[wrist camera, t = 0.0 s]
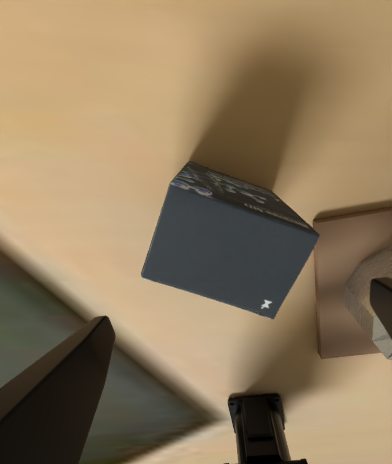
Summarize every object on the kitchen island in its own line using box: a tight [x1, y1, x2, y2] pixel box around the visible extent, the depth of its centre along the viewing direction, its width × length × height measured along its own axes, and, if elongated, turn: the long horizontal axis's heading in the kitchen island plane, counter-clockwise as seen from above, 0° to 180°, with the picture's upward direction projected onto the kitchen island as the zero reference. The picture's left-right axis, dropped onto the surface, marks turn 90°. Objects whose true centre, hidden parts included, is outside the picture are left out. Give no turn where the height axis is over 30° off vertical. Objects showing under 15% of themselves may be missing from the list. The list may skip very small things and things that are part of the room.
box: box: [141, 162, 320, 319], centre depth 17 cm, size 8×6×11 cm
